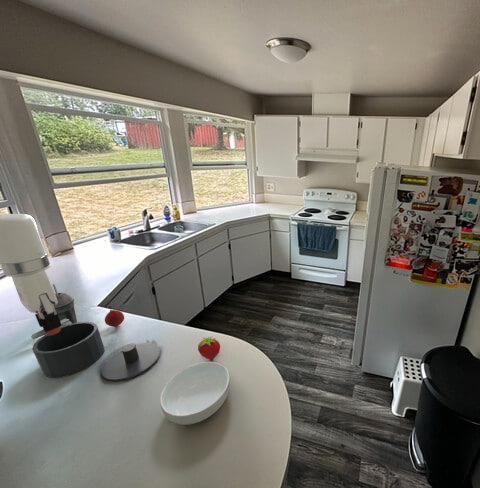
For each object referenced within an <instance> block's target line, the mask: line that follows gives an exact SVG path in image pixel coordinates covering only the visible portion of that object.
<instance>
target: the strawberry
mask: <svg viewBox="0 0 480 488" xmlns="http://www.w3.org/2000/svg"><path fill="white" fill-rule="evenodd" d="M220 350H221V344H220V341H219V340H217V338H215V337H214V338H213V336H212V335H211V336H210V337H209V336H208V337H206V336H205V337H202V340H200V342H198V345H197V351H198V353H199V354H200V356H202V357H203V358H205V359H207V360H209V361H213V360H214V359H215V358H216V357H217V356H218V354H219V353H220V352H221V351H220Z"/></svg>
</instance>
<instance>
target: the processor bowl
mask: <svg viewBox="0 0 480 488" xmlns="http://www.w3.org/2000/svg"><path fill="white" fill-rule="evenodd" d="M31 350H32V352H33V354H34V356H35V358H36V361H37V363H38V366H39V367H40V369H41V372H42V373H43V375H44V377H47V378H50V379H58V378H59V379H60V378H63V376H65V377H68V376H71V375H74V374H77V373H79V372H82V371H83V370H85V369H87V368H89V367H91V366H92V365H93V364H95V363H96V362H97V361H99V359H101V357H102V356H103V355H104V352H105V345H104V342H103V340H102V336H101V334H100V329H99V327H98V325H97V324H96V323H95V322H92V321H79V322H78V321H77V323H74V324H71V325H68V326H66V327H63V328H61V330H60V332H58V333H56V334H54V335H50V336H47V335H43V336H41V337H39V338H37V340H36V341H35V342H34V343H33V345H32V348H31ZM67 375H68V376H67Z"/></svg>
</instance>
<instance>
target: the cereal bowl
mask: <svg viewBox="0 0 480 488" xmlns="http://www.w3.org/2000/svg"><path fill="white" fill-rule="evenodd" d="M230 386H231V377H230V372H229V370H228V368H227V367H226V366H224V364H222V363H219V362H215V361H203V362H197V363H194V364H191V365H188V366H186V367H185V368H183V369H181V370H180V371H178V372H177V373H175V375H173V376H172V377H171V378H170V379H168V381H167V383H166V384H165V386H164V387H163V389H162V391H161V394H160V398H159V399H160V400H159V402H160V403H159V404H160V408H161V411H162V413H163V415H164V416H165V417H166V418H167V420H168V421H170V422H172V423H173V424H176V425H183V426H187V425H194V424H197V423H200V422H203V421H205V420H206V419H208V418H210V417H211V416H212V415H213V414H215V413H216V412H217V411H218V410H219V409H220V408H221V407H222V405H224V402H225V401H226V399H227V397H228V395H229V392H230Z"/></svg>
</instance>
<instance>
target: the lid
mask: <svg viewBox="0 0 480 488" xmlns="http://www.w3.org/2000/svg"><path fill="white" fill-rule="evenodd" d="M160 356H161V348H160V347H159V345H157V344H155V343H153V342H141V343H136V344H135V343H127V344H126V345H124V346H123V347H122V348H121V349H120V350H119V351H117V352H115V353H114V354H112V355H111V356H110V357H109V358H108V359H107V360H106V361H105V362H104V363H103V365H102V367H101V371H100V372H101V376H102V377H103V378H104V379H105V380H108V381H113V382H116V381H117V382H118V381H125V380H128V379H131V378H133V377H136V376H138V375H140V374H142V373H144V372H146V371H147V370H149V369H150V368H151V367H152V366H153V365H155V363H157V361H158V360H159V358H160Z"/></svg>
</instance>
